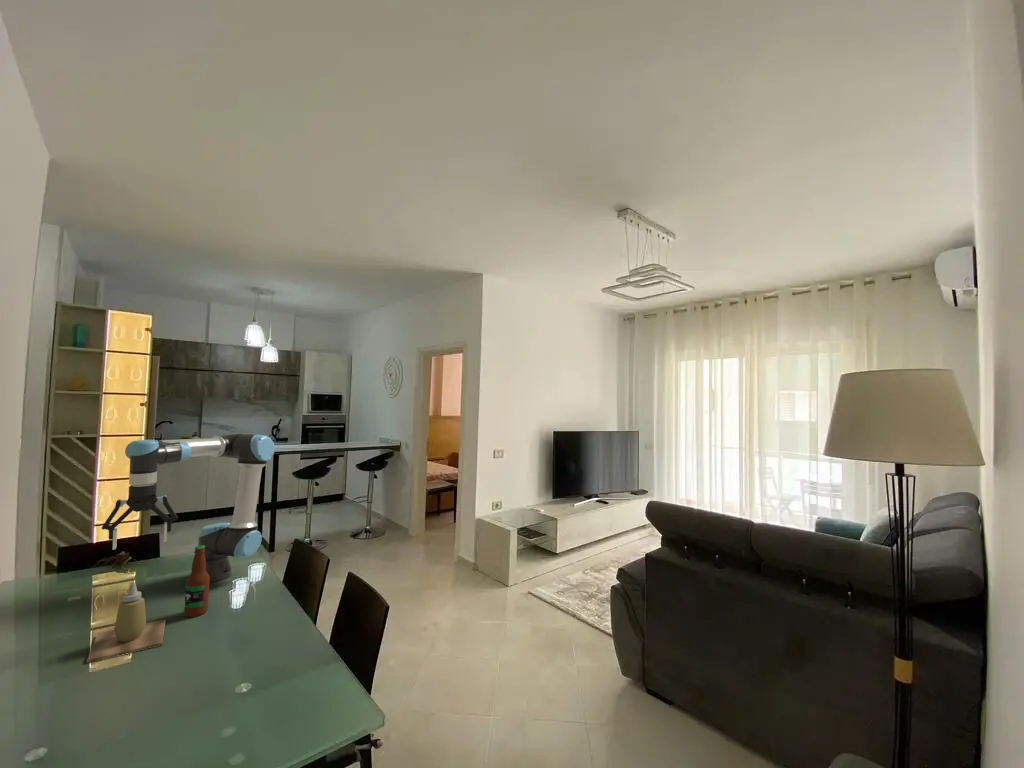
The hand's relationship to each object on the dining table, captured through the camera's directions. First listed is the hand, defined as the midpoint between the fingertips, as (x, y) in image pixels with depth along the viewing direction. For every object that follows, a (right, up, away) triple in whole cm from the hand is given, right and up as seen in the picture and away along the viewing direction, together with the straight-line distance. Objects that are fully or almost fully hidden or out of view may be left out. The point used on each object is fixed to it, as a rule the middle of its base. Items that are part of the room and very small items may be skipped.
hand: (140, 544), depth 154 cm
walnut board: (+3, -29, -8) cm, 30 cm away
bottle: (+11, -30, +11) cm, 34 cm away
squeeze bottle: (+3, -28, -8) cm, 30 cm away
